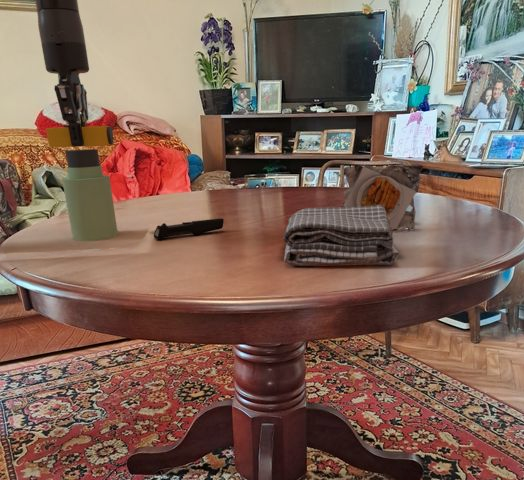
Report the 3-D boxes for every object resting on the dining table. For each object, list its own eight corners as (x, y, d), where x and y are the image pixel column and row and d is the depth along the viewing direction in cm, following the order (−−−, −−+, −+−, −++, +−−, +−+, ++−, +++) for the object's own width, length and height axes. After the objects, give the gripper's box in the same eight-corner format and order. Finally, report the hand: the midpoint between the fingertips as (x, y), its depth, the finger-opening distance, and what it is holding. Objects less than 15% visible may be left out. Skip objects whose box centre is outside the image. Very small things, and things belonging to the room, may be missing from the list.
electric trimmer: (227, 233, 112) (226, 218, 110) (158, 241, 105) (156, 225, 104) (220, 230, 115) (219, 216, 114) (153, 238, 109) (151, 223, 107)
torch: (49, 147, 97) (45, 126, 95) (54, 146, 100) (50, 126, 98) (111, 145, 97) (108, 124, 96) (114, 144, 101) (111, 124, 99)
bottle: (69, 248, 102) (50, 152, 94) (79, 239, 110) (64, 149, 103) (114, 246, 102) (100, 150, 95) (122, 237, 111) (109, 148, 103)
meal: (344, 234, 105) (346, 167, 100) (341, 230, 109) (343, 166, 104) (417, 232, 105) (423, 165, 100) (411, 228, 109) (417, 163, 104)
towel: (288, 247, 96) (288, 205, 93) (387, 247, 94) (390, 203, 91) (282, 269, 82) (282, 219, 79) (398, 268, 80) (402, 218, 77)
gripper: (53, 48, 98) (70, 145, 105) (29, 37, 85) (50, 148, 92) (93, 47, 98) (107, 143, 105) (74, 35, 85) (92, 146, 92)
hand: (80, 145), depth 98 cm, fingers closed on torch, 3 cm apart
